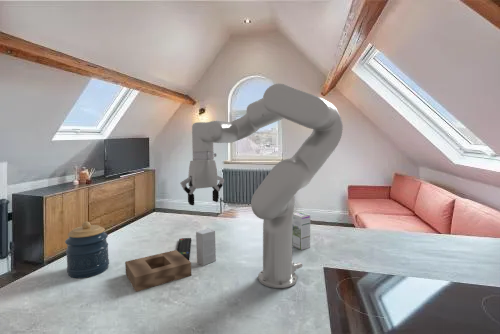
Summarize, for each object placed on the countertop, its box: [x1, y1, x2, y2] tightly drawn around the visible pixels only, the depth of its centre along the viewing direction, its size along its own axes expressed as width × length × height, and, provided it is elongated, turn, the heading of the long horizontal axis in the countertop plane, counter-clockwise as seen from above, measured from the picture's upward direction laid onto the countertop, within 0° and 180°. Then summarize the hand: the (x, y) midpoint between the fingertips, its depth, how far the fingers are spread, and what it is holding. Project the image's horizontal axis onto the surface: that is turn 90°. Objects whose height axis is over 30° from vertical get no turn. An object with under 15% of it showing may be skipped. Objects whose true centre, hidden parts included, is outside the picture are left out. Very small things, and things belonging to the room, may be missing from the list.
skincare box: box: [195, 228, 217, 267], centre depth 106 cm, size 6×4×12 cm
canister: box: [64, 221, 110, 279], centre depth 99 cm, size 13×13×18 cm
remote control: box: [176, 237, 192, 261], centre depth 119 cm, size 5×24×1 cm, turn 10°
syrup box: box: [292, 211, 311, 251], centre depth 121 cm, size 6×6×14 cm
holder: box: [124, 249, 192, 292], centre depth 96 cm, size 18×14×4 cm
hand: (203, 203), depth 104 cm, fingers open, 9 cm apart
